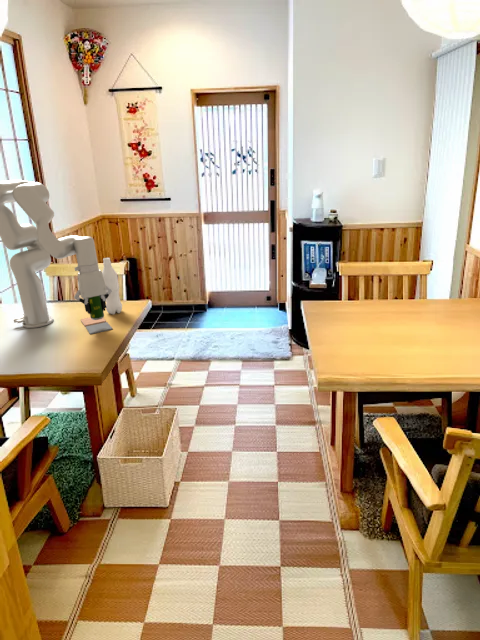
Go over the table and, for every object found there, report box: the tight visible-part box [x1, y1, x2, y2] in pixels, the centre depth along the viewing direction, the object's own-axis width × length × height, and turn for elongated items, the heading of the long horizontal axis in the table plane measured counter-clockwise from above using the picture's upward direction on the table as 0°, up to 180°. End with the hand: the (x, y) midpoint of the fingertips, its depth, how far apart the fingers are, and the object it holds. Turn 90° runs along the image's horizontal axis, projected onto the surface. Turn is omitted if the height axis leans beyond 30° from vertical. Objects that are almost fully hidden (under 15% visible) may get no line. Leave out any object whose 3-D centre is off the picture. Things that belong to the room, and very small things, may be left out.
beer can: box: [88, 296, 105, 320], centre depth 188 cm, size 5×5×12 cm
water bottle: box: [101, 257, 123, 315], centre depth 207 cm, size 7×7×25 cm
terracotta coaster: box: [80, 317, 107, 327], centre depth 201 cm, size 9×9×1 cm
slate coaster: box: [85, 321, 114, 335], centre depth 192 cm, size 9×9×1 cm
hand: (96, 311), depth 189 cm, fingers closed on beer can, 5 cm apart
